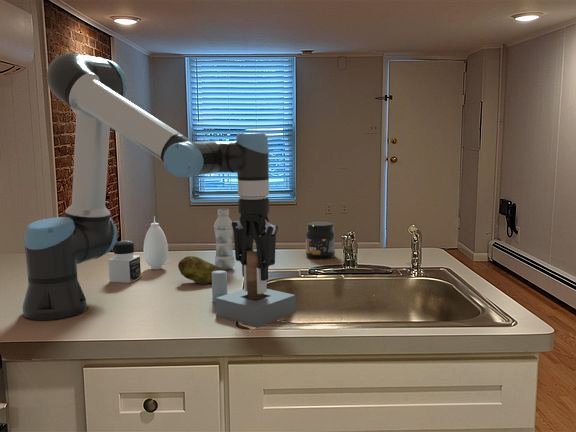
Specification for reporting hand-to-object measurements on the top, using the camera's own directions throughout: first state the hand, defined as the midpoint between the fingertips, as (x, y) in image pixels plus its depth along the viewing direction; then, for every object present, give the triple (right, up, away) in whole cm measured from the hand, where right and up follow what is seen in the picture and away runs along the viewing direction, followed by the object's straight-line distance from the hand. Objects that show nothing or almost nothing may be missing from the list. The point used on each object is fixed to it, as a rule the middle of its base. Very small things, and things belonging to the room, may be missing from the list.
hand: (255, 291), depth 144 cm
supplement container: (+20, +4, +66) cm, 69 cm away
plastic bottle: (-13, +1, +48) cm, 49 cm away
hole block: (0, -6, +1) cm, 6 cm away
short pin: (-10, -4, +12) cm, 16 cm away
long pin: (0, -4, +1) cm, 4 cm away
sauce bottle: (-36, +1, +50) cm, 61 cm away
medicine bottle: (-42, -1, +36) cm, 55 cm away
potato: (-18, -2, +32) cm, 37 cm away
